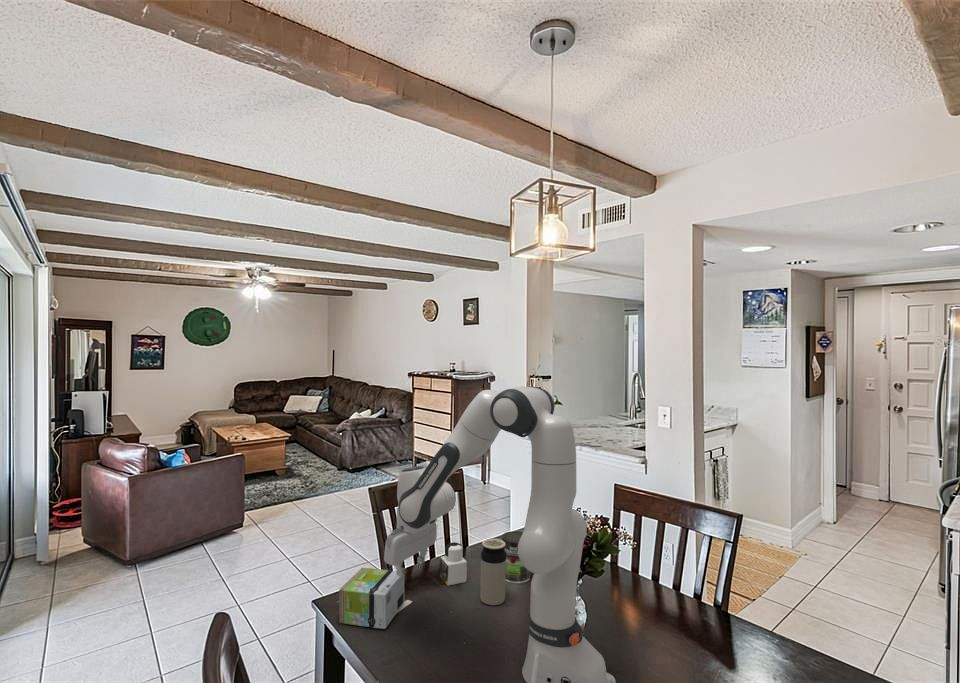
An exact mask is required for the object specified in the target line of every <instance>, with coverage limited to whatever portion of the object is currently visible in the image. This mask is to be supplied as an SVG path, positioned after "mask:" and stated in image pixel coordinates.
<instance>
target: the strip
mask: <svg viewBox="0 0 960 683" xmlns="http://www.w3.org/2000/svg"><path fill="white" fill-rule="evenodd" d="M410 604H413V601H412V600H410V599H406V600H404V604H403V605H402V606H401V608H400V609H399V610H398V612H397V613H396V614H398V613H399V612H401V611H402V610H404V609H405V608H406V607H408V606H410ZM371 628H372V629H375V628H374V627H371Z"/></svg>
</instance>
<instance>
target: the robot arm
mask: <svg viewBox="0 0 960 683" xmlns="http://www.w3.org/2000/svg"><path fill="white" fill-rule="evenodd" d="M465 408H466V409H465V410H464V412H463V413H462V415H461V417H459V420H458V422H457V423H456V425H455V427H454V428H453V429H452V431H451V433H450V434H449V436H448V438H447V439H446V440H445V441H444V443H443V444H442V446H441V447H440V448H439V450H437V452H436V453H435V455H434V456H433V457H432V459H431V461H430V462H429V463H428V465H427V466H426V467H424V466H421V465H417V466H410V467H407V468H403V469H402V470H401V471H400V473H398V474H399V475H398V479H397V487H396V488H397V490H396V491H397V492H396V498H397V504H398V505H397V510H396V528H395V529H392V530H391V531H390V533H388V535H387V538H386V541H385V545H384V552H383V553H384V554H383V556H384V557H383V562H384V563H385V564H386V565H390V566H394V568H395V570H396V571H397V576H402V575H404V576H405V568H404V567H403V566H402V565H403V561H405V560H407V559H409V558H412V557H413V556H414V555H416V554H419V555H418V556H417V558H416V559H417V560H416V561H417V564H419V565H422V564H424V563H426V555H427V554H428V548H429V547H430V546H433V545H434V544H435V543H436V540H437V534H438V533H437V531H438V530H437V527H438V526H437V523H436V522H437V521H438V518H440V517H442V516H444V515H446V514H449V513H450V512H451V511H453V509H454V507H455V506H456V502H457V501H456V500H457V499H456V493H455V490H454V487H452V485H451V484H450V483H449V482H448V479H449V478H450V477H451V476H452V475H453V474H454V473H455V472H456V471H458V470H459V469H461V468H462V467H464V466H466V465H468V464H470V463H472V462H474V461H476V460H477V459H480V458H481V457H482V456H483V455H484V454H485V453H486V452H487V451H488V449H489V448H491V446H492V445H493V444H494V442H495V441H496V438H497V437H498V435H499V433H500V431H501V430H502V431H504V432H507V433H510V434H513V435H516V436H517V437H521V438H526V437H528V439H529V440H530V445H531V477H530V478H531V480H530V481H531V483H530V484H531V485H530V486H531V489H530V498H529V502H528V508H527V512H526V518H525V524H524V528H523V534H522V536H521V538H520V541H519V543H518V555H519V558H520V561H521V563H522V564H523V565H524V567H525V568H526V569H527V570H529V571H530V573H531V574H533V575H532V578H531V583H530V598H529V600H530V602H529V603H530V604H529V608H530V609H529V613H528V618H527V619H528V620H527V635H528V641H527V642H528V643H527V647H526V648H527V649H526V655H525V659H524V662H523V666H522V669H521V673H522V677H523V679H524V681H525V683H617V681H616V679H615V677H614V676H613V675H612V674H611V673H609V672H607V667H606V661H605V659H604V656H603V655H602V654H601V653H600V652H599V651H598V650H597V649H596V648H595V647H594V646H593V645H592V644H591V643H590V642H589V641H588V640H587V639H586V638H585V636H583V631H584V629H585V622H583V623H582V624H580V623H579V622H578V620H577V617H576V603H577V602H576V596H577V595H576V594H577V584H578V578H579V573H580V568H581V563H582V562H581V561H582V555H583V548H584V542H585V539H586V536H587V532H588V530H587V529H588V528H587V527H588V526H587V522H586V520H585V518H584V517H583V515H582V514H581V513H580V512H579V511H577V510H576V509H574V508H573V506H574V502H575V498H576V496H577V449H576V446H577V445H576V439H575V438H576V437H575V432H574V428H573V425H572V423H571V421H570V420H569V419H568V418H566V417H564V416H561V415H558V414H554V413H555V412H554V411H555V400H554V398H553V396H552V395H551V394H550V392H549V391H548V390H546V389H544V388H543V387H539V386H517V387H514V388H507V389H504V390H502V391H500V392H498V391H496V390H493V389H485V390H484V389H483V390H481V391H480V392H478V393H477V395H476V396H475V397H474V398H473V399H472V401H471V402H469V404H468V405H467V407H465Z"/></svg>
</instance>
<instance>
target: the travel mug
mask: <svg viewBox="0 0 960 683" xmlns="http://www.w3.org/2000/svg"><path fill="white" fill-rule="evenodd" d="M481 545H482V547H483V548H482V551H481V553H480V585H479V588H480V593H479V599H480V601H481V602H482V603H483V604H486V605H490V606H498V605H501V604H503V603H504V602H505V601H506V581H505V580H506V552H505V550H504V547H505V545H506V544H505V542H504V541H502V539H499V538H488V539H484V540H483V541H482V543H481Z"/></svg>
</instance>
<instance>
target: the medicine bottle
mask: <svg viewBox="0 0 960 683" xmlns="http://www.w3.org/2000/svg"><path fill="white" fill-rule="evenodd" d="M463 550H464V548H463V545H462V544H461V543H459V542H456V541H455V542H449V543H447V544H445V548H444V555H443V556H440V571H439V572H440V578H441V580H443V582H444V583H445V584H446V586H452V585H458V584H462V583H467V577H468V576H467V573H468V560H466V559H465V558H464V557H463V555H464V554H463V552H464V551H463Z"/></svg>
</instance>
